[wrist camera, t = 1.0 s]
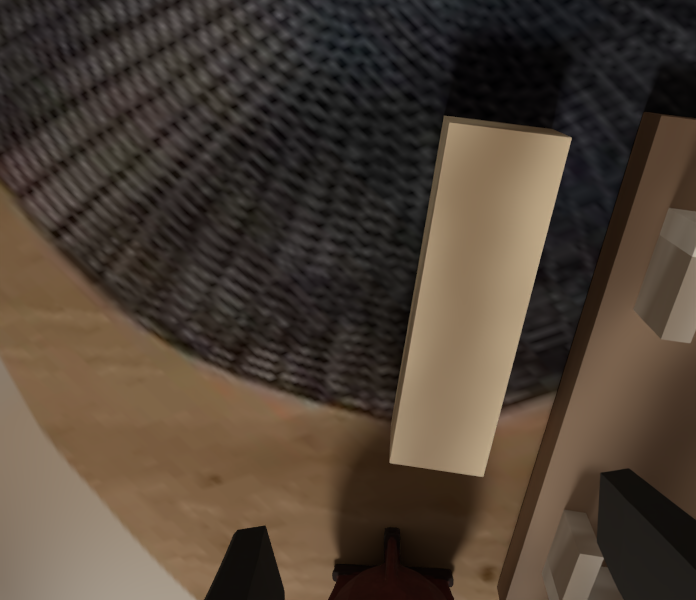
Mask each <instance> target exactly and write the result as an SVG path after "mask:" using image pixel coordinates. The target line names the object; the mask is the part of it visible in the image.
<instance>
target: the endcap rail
mask: <svg viewBox="0 0 696 600" xmlns="http://www.w3.org/2000/svg"><path fill="white" fill-rule="evenodd" d="M627 468H629V469H631V470H632V471H633V472H635V473H636V474H637V475H639V476H640V477H641V478H642V479H644V480H645V481H646V482H648V483H649V484H650V485H651V486H653V487H654V488H655V489H657V490H658V491H659V492H660V493H662V494H663V495H664V496H666V497H667V498H668V499H669V500H671V501H672V502H673V503H675V504H676V505H677V506H678V507H680V508H681V509H682V510H684V511H685V512H686V513H688V514H689V515H690V516H691V517H693V518H694V519H695V520H696V118H689V117H681V116H673V115H665V114H657V113H649V112H644V113H643V116H642V120H641V123H640V126H639V129H638V133H637V136H636V139H635V142H634V145H633V149H632V152H631V155H630V158H629V162H628V165H627V168H626V171H625V175H624V178H623V181H622V184H621V188H620V191H619V194H618V197H617V201H616V204H615V207H614V210H613V214H612V217H611V220H610V223H609V226H608V230H607V233H606V236H605V239H604V243H603V246H602V249H601V252H600V256H599V259H598V262H597V265H596V269H595V272H594V275H593V278H592V282H591V285H590V288H589V291H588V294H587V298H586V301H585V304H584V307H583V311H582V314H581V317H580V320H579V324H578V327H577V330H576V333H575V337H574V340H573V343H572V346H571V350H570V353H569V356H568V359H567V362H566V366H565V369H564V372H563V375H562V379H561V382H560V385H559V388H558V392H557V395H556V398H555V401H554V405H553V408H552V411H551V414H550V418H549V421H548V424H547V427H546V431H545V434H544V437H543V440H542V443H541V447H540V450H539V453H538V456H537V460H536V463H535V466H534V469H533V473H532V476H531V479H530V482H529V486H528V489H527V492H526V495H525V499H524V502H523V505H522V508H521V511H520V515H519V518H518V521H517V524H516V528H515V531H514V534H513V537H512V541H511V544H510V547H509V550H508V554H507V557H506V560H505V563H504V567H503V570H502V573H501V576H500V579H499V583H498V586H497V589H498V594H499V600H624V599H623V598H622V596H621V594H620V592H619V591H618V589H617V587H616V584H615V582H614V580H613V578H612V576H611V574H610V571H609V569H608V567H607V565H606V562H605V560H604V558H603V555H602V553H601V551H600V549H599V546H598V544H597V524H598V506H599V488H600V473H602V472H608V471H614V470H621V469H627Z"/></svg>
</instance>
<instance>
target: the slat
mask: <svg viewBox="0 0 696 600" xmlns="http://www.w3.org/2000/svg"><path fill="white" fill-rule="evenodd" d="M571 139H572V138H571V137H569V136H566V135H564V134H562V133H560V132H558V131H555V130H553V129H547V128H539V127H531V126H523V125H516V124H508V123H500V122H492V121H484V120H476V119H468V118H460V117H452V116H444V119H443V125H442V130H441V136H440V142H439V148H438V154H437V160H436V165H435V171H434V177H433V183H432V189H431V194H430V200H429V206H428V212H427V218H426V224H425V229H424V235H423V241H422V247H421V253H420V258H419V264H418V270H417V276H416V282H415V288H414V293H413V299H412V305H411V311H410V317H409V322H408V328H407V334H406V340H405V346H404V352H403V357H402V363H401V369H400V375H399V381H398V387H397V392H396V398H395V404H394V410H393V416H392V421H391V431H390V461H389V463H393V464H399V465H406V466H413V467H419V468H426V469H433V470H439V471H446V472H453V473H459V474H466V475H473V476H479V477H483V476H484V472H485V469H486V465H487V461H488V457H489V453H490V449H491V446H492V442H493V438H494V434H495V430H496V426H497V423H498V419H499V415H500V411H501V407H502V403H503V400H504V396H505V392H506V388H507V384H508V380H509V377H510V373H511V369H512V365H513V361H514V357H515V354H516V350H517V346H518V342H519V338H520V334H521V331H522V327H523V323H524V319H525V315H526V311H527V308H528V304H529V300H530V296H531V292H532V288H533V285H534V281H535V277H536V273H537V269H538V265H539V262H540V258H541V254H542V250H543V246H544V242H545V239H546V235H547V231H548V227H549V223H550V219H551V216H552V212H553V208H554V204H555V200H556V196H557V193H558V189H559V185H560V181H561V177H562V173H563V170H564V166H565V162H566V158H567V154H568V150H569V147H570V143H571Z"/></svg>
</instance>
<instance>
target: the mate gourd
mask: <svg viewBox="0 0 696 600" xmlns="http://www.w3.org/2000/svg"><path fill="white" fill-rule="evenodd" d="M334 567H335V568H334V570H333V573H332V576H333V580H334V581H336V584H335V586H334V589H333V591H332V593H331V595H330V597H329V599H328V600H454V598H453V596H452V593H451V591H450V588H449V587H452V586H453V576H452V574H451V570H449V569H437V568H415V567H404V566H402V565H401V561H400V529H398V528H392V527H388V528H385V533H384V564H382V565H380V566H374V565H349V564H336V565H335V566H334Z"/></svg>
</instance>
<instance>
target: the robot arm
mask: <svg viewBox="0 0 696 600" xmlns="http://www.w3.org/2000/svg"><path fill="white" fill-rule="evenodd" d="M597 544H598V546H599V549H600V551H601V553H602V555H603V558H604V560H605V562H606V565H607V567H608V569H609V571H610V574H611V576H612V578H613V580H614V582H615V584H616V587H617V589H618V591H619V592H620V594H621V596H622V598H623V599H624V600H696V520H695V519H694V518H693V517H691V516H690V515H689V514H688V513H686V512H685V511H684V510H682V509H681V508H680V507H678V506H677V505H676V504H675V503H673V502H672V501H671V500H669V499H668V498H667V497H666V496H664V495H663V494H662V493H660V492H659V491H658V490H657V489H655V488H654V487H653V486H651V485H650V484H649V483H648V482H646V481H645V480H644V479H642V478H641V477H640V476H639V475H637V474H636V473H635V472H633V471H632V470H631V469H629V468H627V469H621V470H614V471H608V472H602V473H600V488H599V506H598V524H597ZM204 600H285V594H284V587H283V584H282V580H281V577H280V574H279V570H278V567H277V563H276V560H275V556H274V553H273V549H272V546H271V542H270V539H269V536H268V532H267V529H266V526H259V527H253V528H247V529H240V530H237V531H236V532H235V534H234V535H233V537H232V540H231V542H230V545H229V547H228V549H227V552H226V554H225V556H224V559H223V561H222V563H221V565H220V567H219V570H218V572H217V574H216V576H215V578H214V580H213V583H212V585H211V587H210V589H209V591H208V593H207V595H206V597H205V599H204Z"/></svg>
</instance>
